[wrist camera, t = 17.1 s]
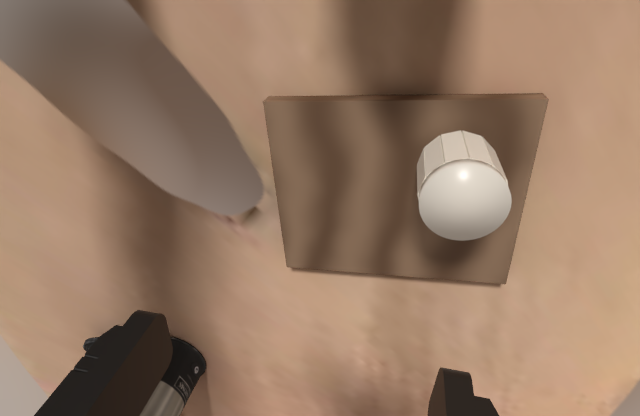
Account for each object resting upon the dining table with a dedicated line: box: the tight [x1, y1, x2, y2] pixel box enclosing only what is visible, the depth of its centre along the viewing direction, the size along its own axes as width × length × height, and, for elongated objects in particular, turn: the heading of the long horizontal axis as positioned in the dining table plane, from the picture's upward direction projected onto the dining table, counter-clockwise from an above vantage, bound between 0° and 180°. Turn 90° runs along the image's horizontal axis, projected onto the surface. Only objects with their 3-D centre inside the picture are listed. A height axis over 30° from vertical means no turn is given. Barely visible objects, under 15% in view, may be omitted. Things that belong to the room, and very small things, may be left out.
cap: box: [417, 130, 512, 241], centre depth 30 cm, size 6×6×6 cm
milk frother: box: [83, 337, 206, 416], centre depth 53 cm, size 14×16×15 cm
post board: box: [263, 93, 548, 284], centre depth 34 cm, size 22×18×8 cm
